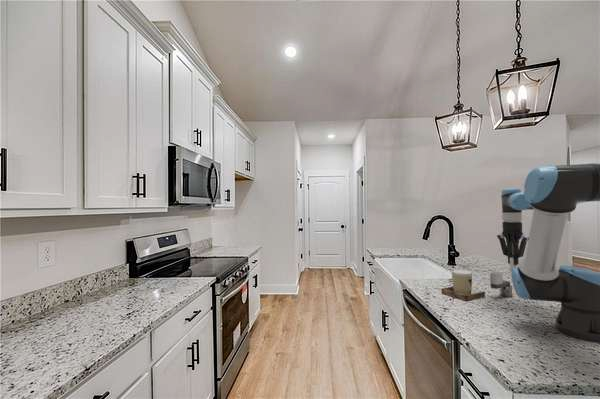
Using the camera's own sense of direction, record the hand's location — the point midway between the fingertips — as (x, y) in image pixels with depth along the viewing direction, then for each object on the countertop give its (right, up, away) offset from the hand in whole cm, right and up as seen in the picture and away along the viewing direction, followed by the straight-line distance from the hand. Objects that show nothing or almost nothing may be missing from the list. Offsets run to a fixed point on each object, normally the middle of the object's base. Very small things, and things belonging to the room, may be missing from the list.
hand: (513, 271), depth 136 cm
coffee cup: (-17, -16, +13) cm, 26 cm away
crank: (0, -10, +8) cm, 13 cm away
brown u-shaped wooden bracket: (-17, -15, +13) cm, 26 cm away
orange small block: (-3, -15, +24) cm, 29 cm away
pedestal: (+4, -15, +10) cm, 18 cm away
